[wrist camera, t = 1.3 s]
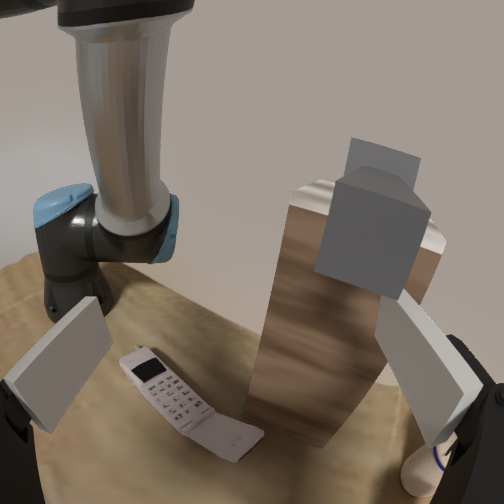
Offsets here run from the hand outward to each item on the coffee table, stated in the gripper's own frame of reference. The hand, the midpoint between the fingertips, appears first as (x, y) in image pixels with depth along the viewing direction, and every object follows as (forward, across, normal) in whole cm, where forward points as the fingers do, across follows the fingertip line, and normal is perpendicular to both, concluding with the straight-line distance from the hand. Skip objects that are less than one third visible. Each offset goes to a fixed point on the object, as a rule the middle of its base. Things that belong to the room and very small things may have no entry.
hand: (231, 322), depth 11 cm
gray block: (+7, +9, +3) cm, 12 cm away
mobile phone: (+13, -12, -23) cm, 30 cm away
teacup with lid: (+3, +23, -32) cm, 40 cm away
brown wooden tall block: (+16, +4, -26) cm, 31 cm away
